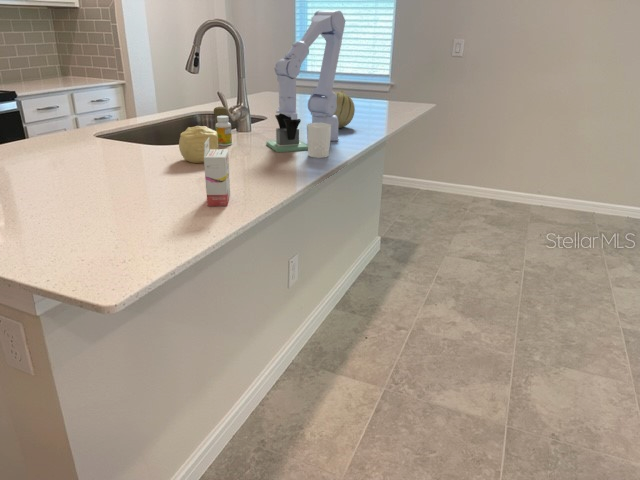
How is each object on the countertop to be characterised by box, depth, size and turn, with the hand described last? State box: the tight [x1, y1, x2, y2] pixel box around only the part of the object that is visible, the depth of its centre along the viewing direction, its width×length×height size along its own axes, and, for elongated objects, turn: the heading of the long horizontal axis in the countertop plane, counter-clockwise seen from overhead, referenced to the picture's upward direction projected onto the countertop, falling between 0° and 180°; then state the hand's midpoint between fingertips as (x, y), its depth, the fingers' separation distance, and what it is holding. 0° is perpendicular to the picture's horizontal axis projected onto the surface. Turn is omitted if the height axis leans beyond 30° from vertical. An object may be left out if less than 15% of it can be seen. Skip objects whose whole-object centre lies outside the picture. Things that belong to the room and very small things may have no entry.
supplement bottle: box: [214, 115, 233, 147], centre depth 173 cm, size 5×5×10 cm
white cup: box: [306, 122, 331, 159], centre depth 161 cm, size 8×8×10 cm
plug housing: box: [275, 127, 300, 145], centre depth 172 cm, size 7×4×5 cm, turn 112°
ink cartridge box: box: [203, 137, 231, 207], centre depth 117 cm, size 9×5×15 cm, turn 5°
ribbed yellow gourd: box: [324, 89, 356, 129], centre depth 205 cm, size 15×15×15 cm
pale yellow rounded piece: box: [178, 125, 219, 164], centre depth 152 cm, size 11×12×11 cm
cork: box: [213, 106, 229, 131], centre depth 185 cm, size 6×6×11 cm
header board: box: [266, 139, 308, 153], centre depth 172 cm, size 12×12×4 cm
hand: (287, 137), depth 172 cm, fingers open, 7 cm apart
